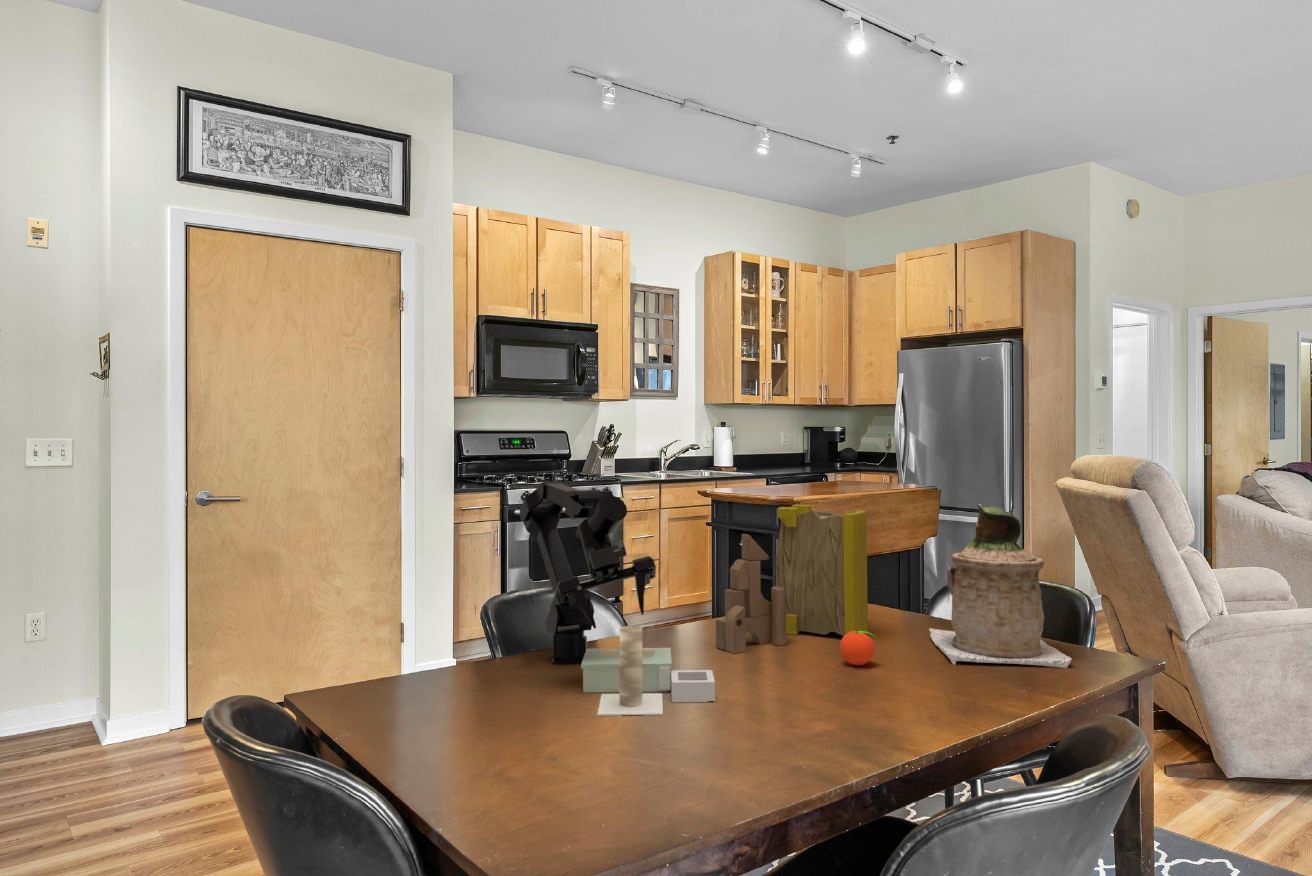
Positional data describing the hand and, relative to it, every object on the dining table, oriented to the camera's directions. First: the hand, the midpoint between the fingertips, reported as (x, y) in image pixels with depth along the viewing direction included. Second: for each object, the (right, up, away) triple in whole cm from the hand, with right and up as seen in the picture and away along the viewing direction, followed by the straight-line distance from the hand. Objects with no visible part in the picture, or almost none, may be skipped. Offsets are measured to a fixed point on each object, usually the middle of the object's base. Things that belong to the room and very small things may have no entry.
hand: (619, 620), depth 153 cm
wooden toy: (+29, -13, +30) cm, 43 cm away
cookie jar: (+80, -12, +24) cm, 84 cm away
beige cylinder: (+3, -12, -10) cm, 16 cm away
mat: (+3, -13, -10) cm, 16 cm away
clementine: (+49, -12, +14) cm, 52 cm away
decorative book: (+47, -13, +42) cm, 64 cm away
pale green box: (+5, -13, 0) cm, 14 cm away
